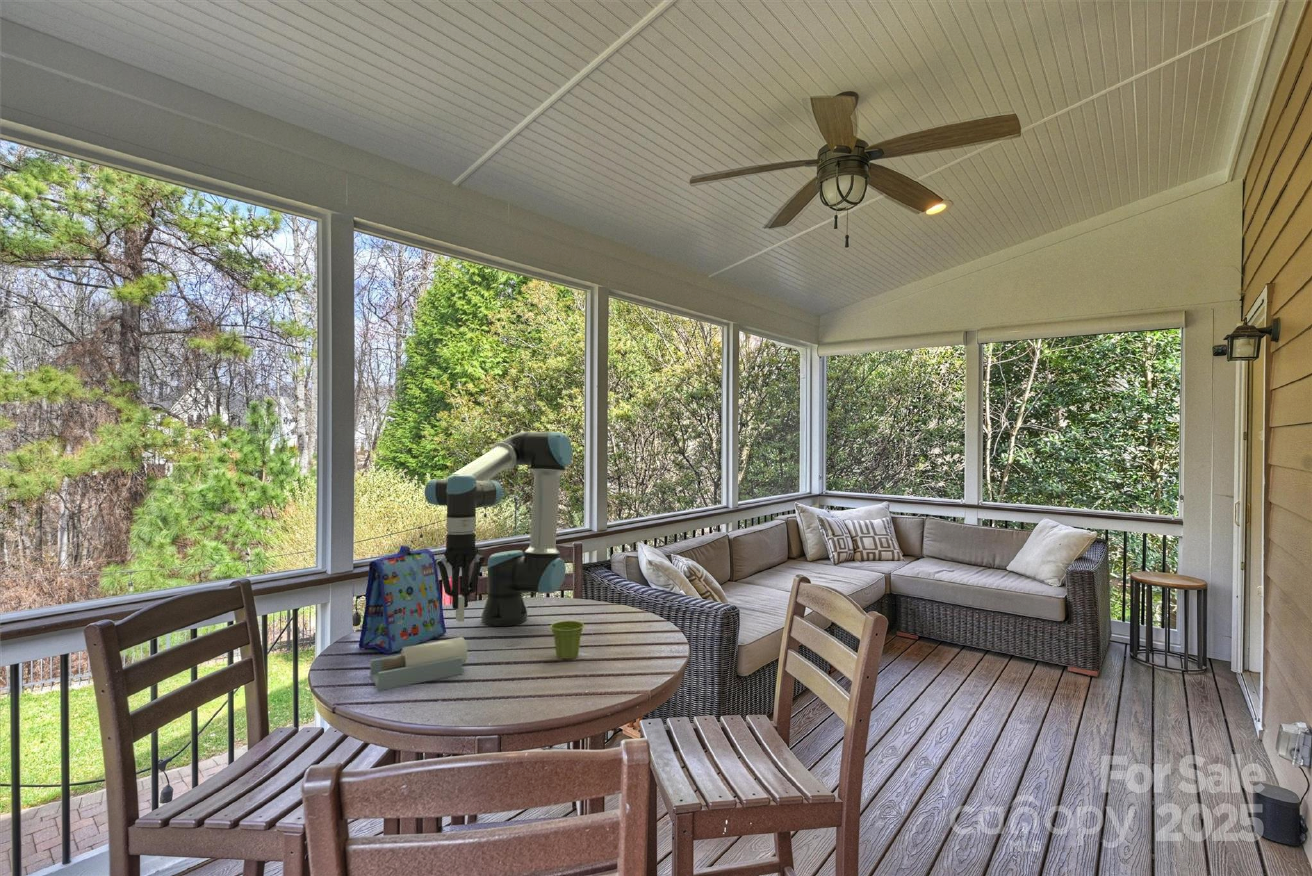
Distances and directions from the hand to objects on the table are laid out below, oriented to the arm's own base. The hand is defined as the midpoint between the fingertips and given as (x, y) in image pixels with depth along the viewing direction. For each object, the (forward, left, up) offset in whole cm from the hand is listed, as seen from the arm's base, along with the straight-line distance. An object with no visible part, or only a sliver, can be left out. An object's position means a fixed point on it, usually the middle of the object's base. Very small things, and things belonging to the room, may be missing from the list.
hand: (459, 620), depth 163 cm
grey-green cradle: (+11, 0, -12) cm, 17 cm away
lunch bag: (+8, -30, -13) cm, 34 cm away
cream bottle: (-1, 0, -8) cm, 8 cm away
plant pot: (-28, +8, -13) cm, 32 cm away
